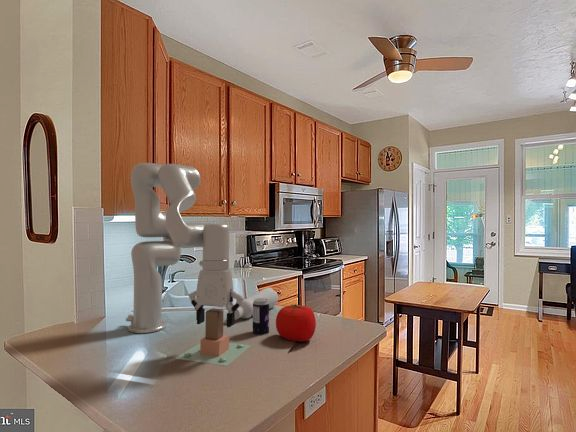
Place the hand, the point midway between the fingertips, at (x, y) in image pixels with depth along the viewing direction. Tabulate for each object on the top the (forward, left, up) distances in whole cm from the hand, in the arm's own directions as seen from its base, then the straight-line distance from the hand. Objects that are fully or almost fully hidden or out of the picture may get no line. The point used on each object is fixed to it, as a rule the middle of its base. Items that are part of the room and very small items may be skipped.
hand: (215, 324), depth 100 cm
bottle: (-7, +46, -9) cm, 47 cm away
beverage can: (+6, +21, -9) cm, 24 cm away
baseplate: (0, 0, -9) cm, 9 cm away
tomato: (+19, +20, -9) cm, 29 cm away
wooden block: (0, 0, -4) cm, 4 cm away
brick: (0, 0, -8) cm, 8 cm away
